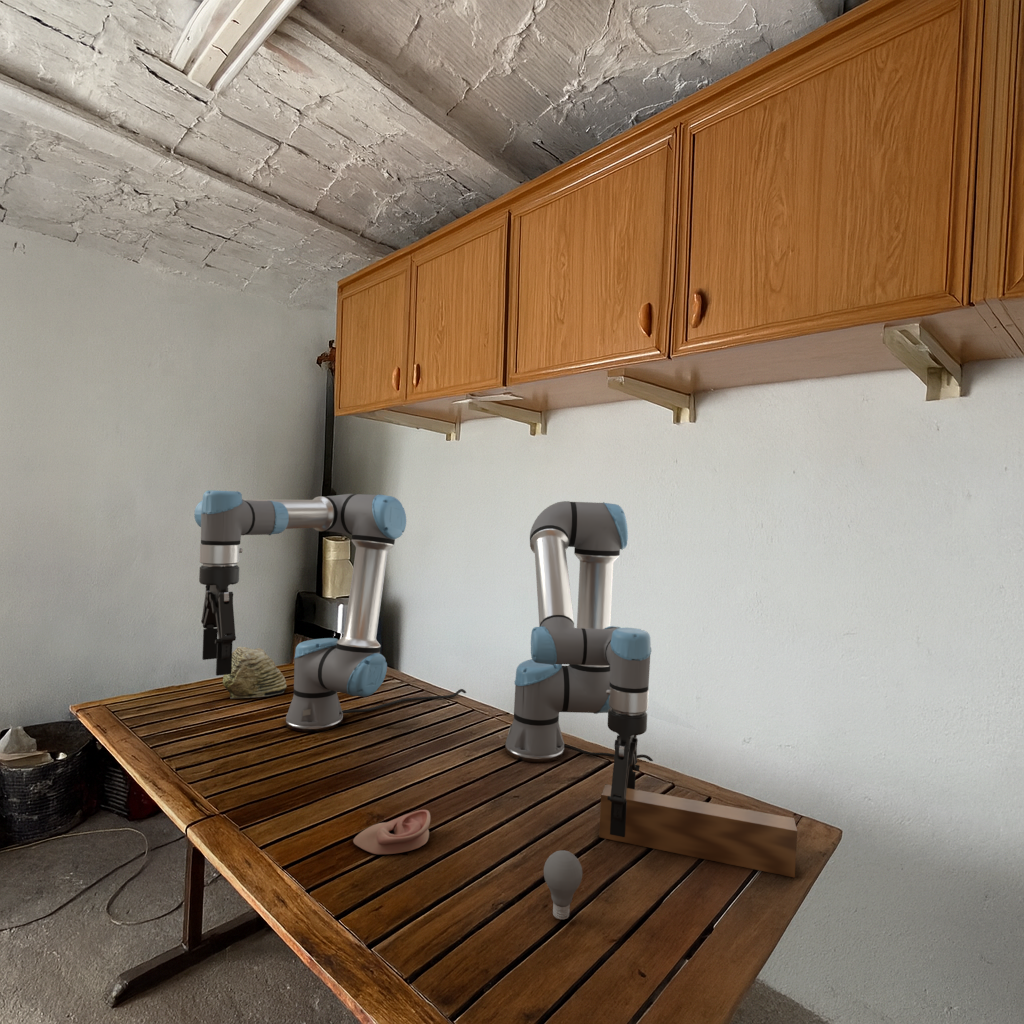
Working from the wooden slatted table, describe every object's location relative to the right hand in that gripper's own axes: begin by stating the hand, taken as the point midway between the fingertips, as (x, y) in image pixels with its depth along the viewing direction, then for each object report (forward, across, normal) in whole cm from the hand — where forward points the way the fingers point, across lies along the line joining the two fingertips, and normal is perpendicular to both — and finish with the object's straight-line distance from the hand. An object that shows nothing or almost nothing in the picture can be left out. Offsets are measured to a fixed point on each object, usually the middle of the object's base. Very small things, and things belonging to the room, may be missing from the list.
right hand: (622, 818), depth 123 cm
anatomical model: (+3, +18, -40) cm, 44 cm away
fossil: (+3, -40, -120) cm, 127 cm away
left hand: (-24, +18, -83) cm, 88 cm away
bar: (+3, 0, +13) cm, 14 cm away
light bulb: (+3, +28, -5) cm, 29 cm away
